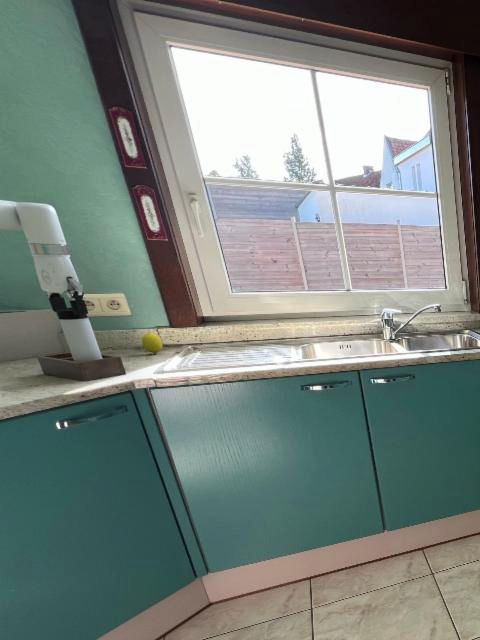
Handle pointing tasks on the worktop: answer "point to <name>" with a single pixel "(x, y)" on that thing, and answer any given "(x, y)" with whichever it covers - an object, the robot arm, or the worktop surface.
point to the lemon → (152, 343)
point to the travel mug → (79, 335)
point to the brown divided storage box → (81, 367)
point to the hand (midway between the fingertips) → (70, 312)
